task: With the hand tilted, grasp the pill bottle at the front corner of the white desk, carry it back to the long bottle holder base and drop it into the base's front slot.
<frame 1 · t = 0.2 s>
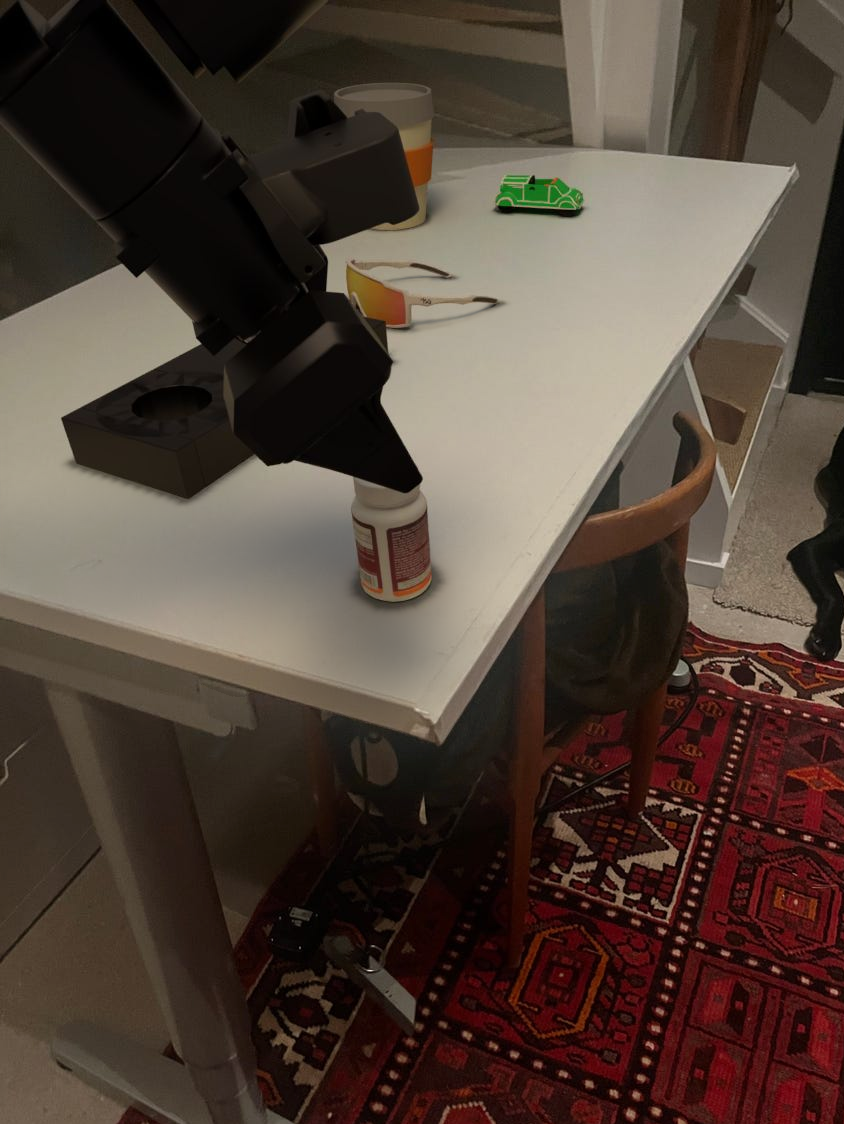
hand: (390, 440, 46), 15 cm above the table, tool tilted 35°, fingers open, 9 cm apart
bottle holder base: (246, 408, 82), on the table
sunglasses: (417, 305, 100), on the table
toy car: (538, 211, 126), on the table
pill bottle: (396, 584, 62), on the table
reusable coffee cup: (392, 221, 124), on the table
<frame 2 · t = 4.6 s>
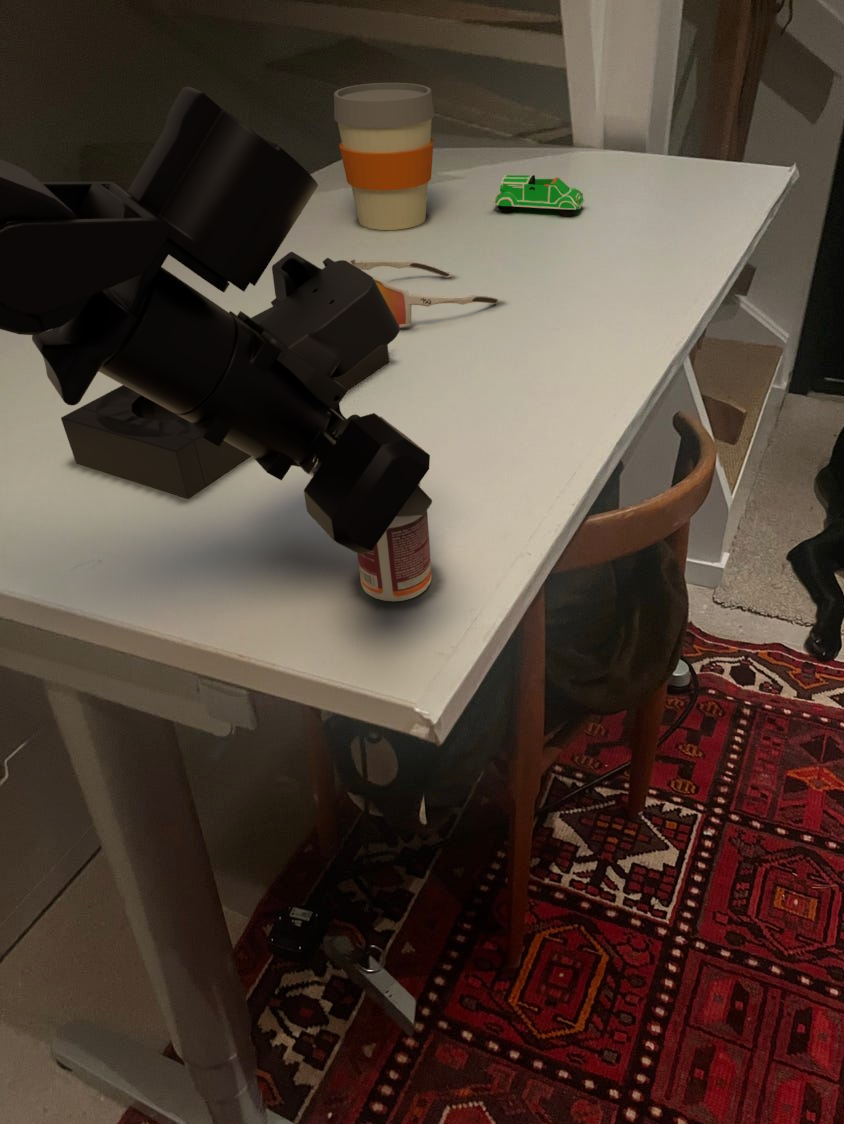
hand: (408, 490, 58), 7 cm above the table, tool tilted 45°, fingers closed on pill bottle, 4 cm apart
pill bottle: (396, 584, 62), on the table, touching gripper
everything else where it was.
when the fingers open (7 cm above the table, at t = 13.3 s): pill bottle stays where it is, resting in bottle holder base.
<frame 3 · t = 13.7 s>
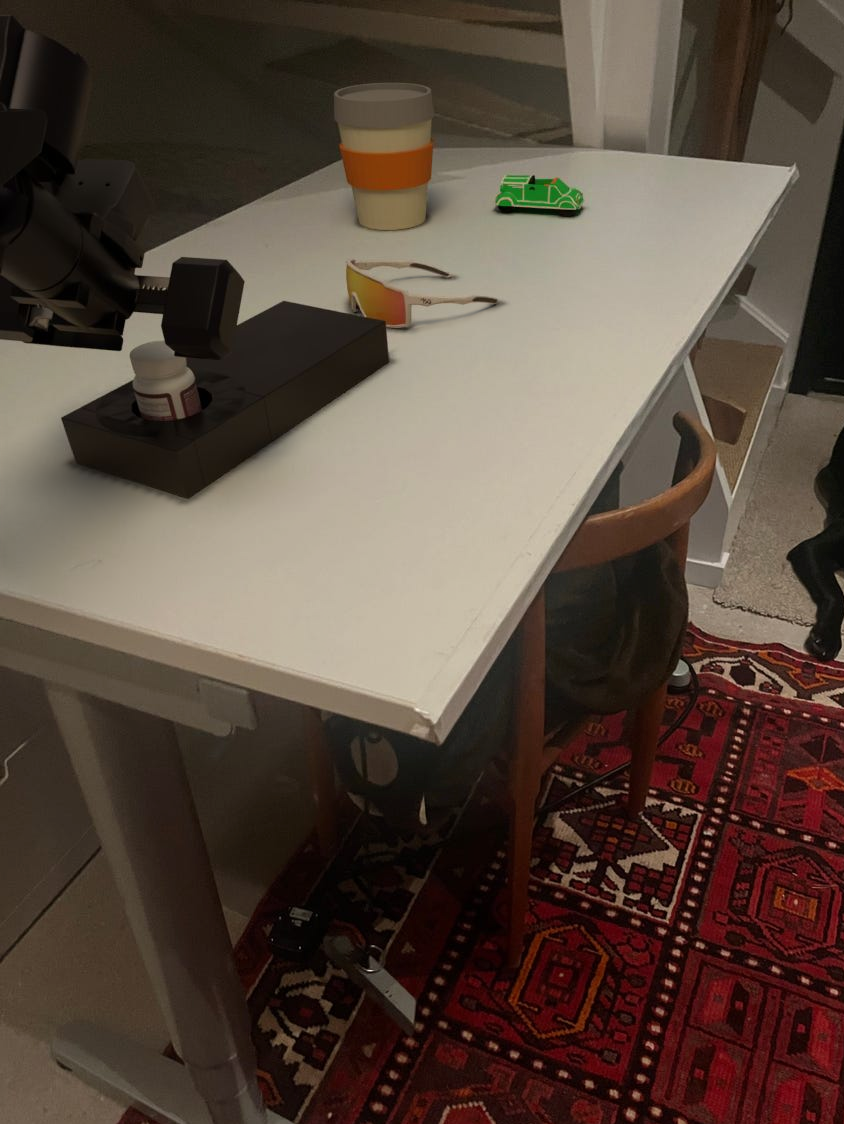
hand: (169, 349, 72), 8 cm above the table, tool tilted 45°, fingers open, 8 cm apart
pill bottle: (181, 450, 76), resting in bottle holder base
everything else where it was.
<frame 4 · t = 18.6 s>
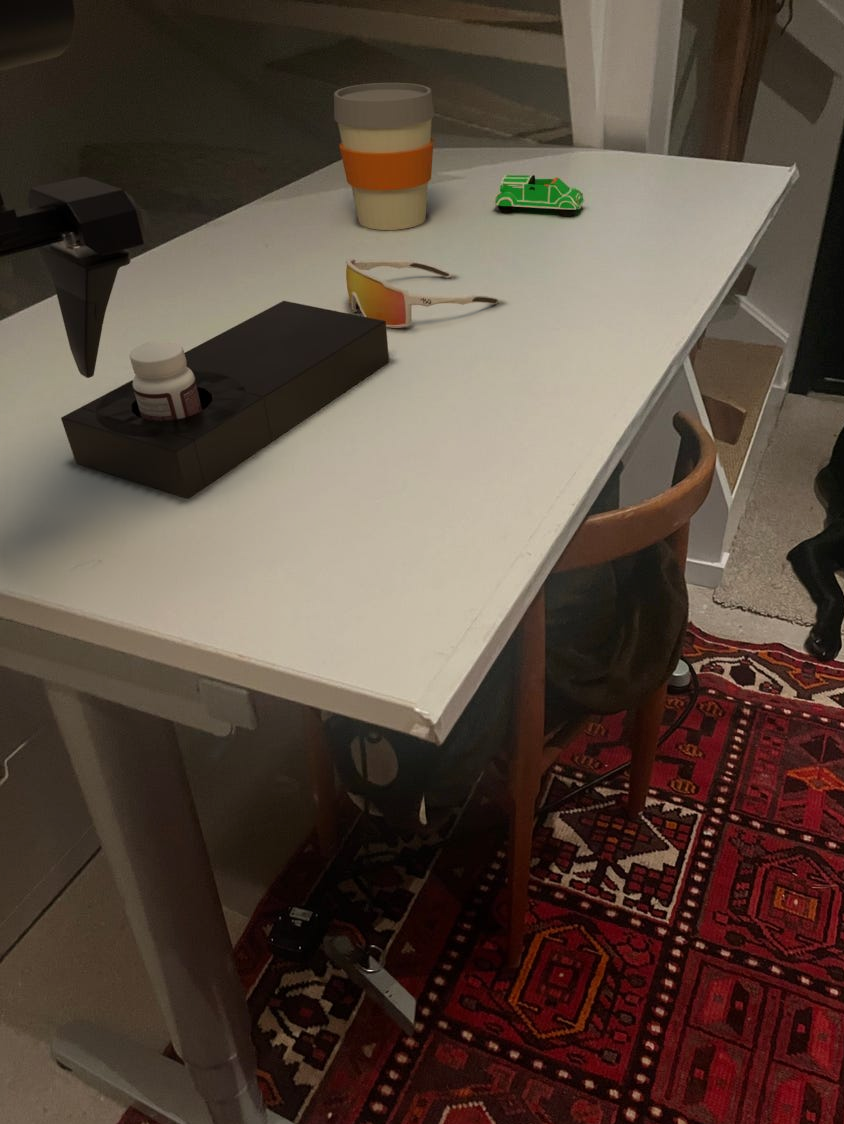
hand: (14, 400, 54), 13 cm above the table, tool pointing down, fingers open, 9 cm apart
nothing on the table moved.
at the end: pill bottle 0.3 cm from the target spot in the bottle holder base, point 0.0 cm above the bottle holder base's base; pill bottle tilted 0° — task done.
